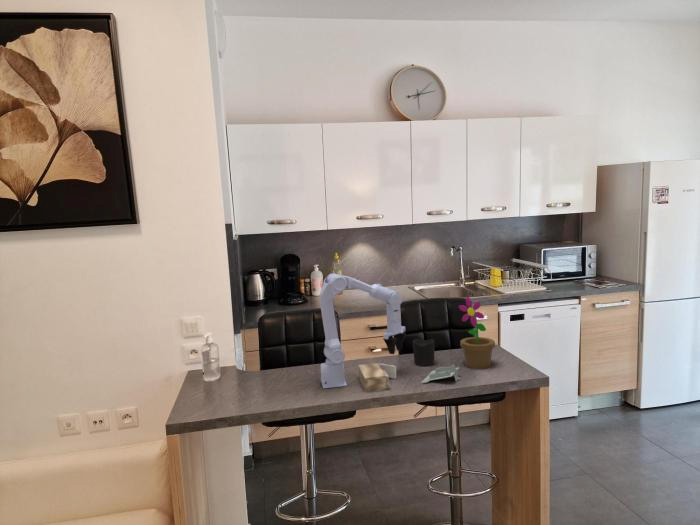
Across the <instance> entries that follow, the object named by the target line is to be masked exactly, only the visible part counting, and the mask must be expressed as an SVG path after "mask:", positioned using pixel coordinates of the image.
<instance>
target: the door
mask: <svg viewBox="0 0 700 525" xmlns="http://www.w3.org/2000/svg"><path fill="white" fill-rule="evenodd" d="M378 365H379V366H380V368H381V369H382V370H385V371H386V373H387V374H388V375H389V377H390V379H394V380H395V379H396V380H397V366H396V365H391V364H385V363H381V362H380V363H378Z"/></svg>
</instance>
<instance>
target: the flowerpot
mask: <svg viewBox="0 0 700 525" xmlns="http://www.w3.org/2000/svg"><path fill="white" fill-rule="evenodd" d="M465 304H466V305H463V304H460V305H458V309H459V310H460V311H462V312H464V313H465V312H467V313H465V314H463V316H462V318H461V321H462V322H467V320H469V319H470V324H471V325H472V326H473V327H475V329H470V330H468V331H467V333H468V334H470V335H473V337H471V336H470V337H465V338H462V339H461V340H459V343H460V344H459V345H460V348H461V349H463V356H464V362H465V365H466V367H468V368H471V369H486V368H489V367H490V366H491V365H492V354H493V349H494V348H495V347H496V342H495V340H494V339H492V338H488V337H481V336H479V331H480V332H485V331H487V328H486V326H485V325H484V324H482V323H480V322H479V323H478V320H477V318H478V319H481V320H482V319H484V318H485V315H484V314H483V313H482V312H480V311H476V310H478V309H479V308H481V304H482V303H481V301H477V302H475V303H474V304H473V302H472V300H471V298H470V297H469V296H467V297H466V298H465Z"/></svg>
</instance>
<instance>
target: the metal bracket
mask: <svg viewBox="0 0 700 525" xmlns="http://www.w3.org/2000/svg"><path fill="white" fill-rule="evenodd" d="M459 368H460V367H459V366H458V367H456V366H455V364H452V365H449V366H440V367H436V368H435V369H434V370H432V371H430V373H429V374H428V375H426V377H425V378H424V379H423V380H422V381H421V382H420V384H426V383H429V382H430V381H435V380H441V379H447V378H451V377H454V380H455V382H456V381H457V380H458V381H459V380H461V377H459V375H458V370H459ZM458 381H457V382H458Z"/></svg>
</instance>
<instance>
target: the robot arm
mask: <svg viewBox="0 0 700 525" xmlns="http://www.w3.org/2000/svg"><path fill="white" fill-rule="evenodd" d="M351 288H354V289H356V290H360V291H362V292H366V293H368V295H369V297H370V298H372V299H375V300H378V301H380V302H382V303H385V304H386V306H385V307H386V326H387V329H386V331H385V332H384V333H383V334H382V338H383V341H384V343H385V344H386V348H387V349H388V350H387V351H388V354H390V355H395V353H396V352H395V351H400V352H401V351H402V350H403V344H404V340H405V338H406V336H407V333H406V326H404V325H402V317H401V314H402V313H401V304H402V303H403V297H402V295H401V293H400V292H398V291H396V290H393V289H392V288H391V287H385V286H383V285H382V284H381V283H374V284H368V283H366V282H363V281H361V280H359V279H357V278H354V277H351V276H347V275H344V274H340V275H339V274H337V273H335V272H333V273H329V274H328V275H327V276H326V277H325V278H324V279H323V284H322V287H321V289H320V292H319V293H318V294H319V295H318V299H319V306H320V311H321V319H322V326H323V332H324V336H325V340H324V348H323V354H324V355H323V356H325V357H326V359H325V362H322V363H320V383H321V385H322V388H323V389H330V388H340V387H341V388H342V387H347V386H348V384H347V381H346V379H345V363H344V360H345V358H346V354H345V351H344V350H343V349H342V345H341V341H340V340H339V334H338V333H339V332H338V327H337V322H336V316H335V315H336V314H335V309H334V302H333V300H334V299H335V298H336V296H337V295H339V294H341V293H342V292H344V291H345V290H346V289H347V290H348V289H351Z"/></svg>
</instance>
